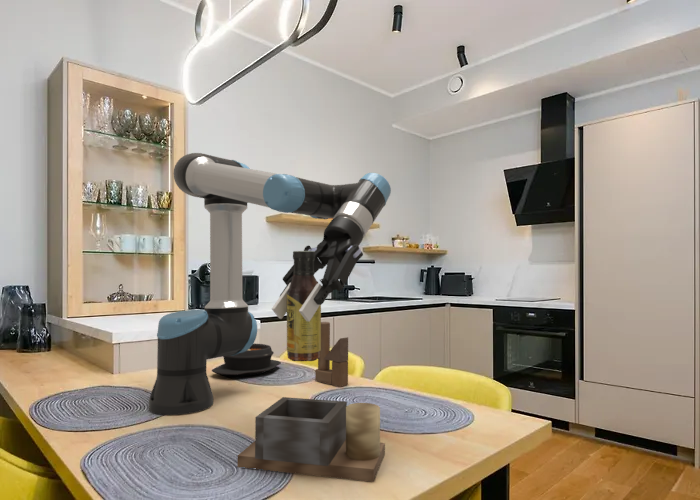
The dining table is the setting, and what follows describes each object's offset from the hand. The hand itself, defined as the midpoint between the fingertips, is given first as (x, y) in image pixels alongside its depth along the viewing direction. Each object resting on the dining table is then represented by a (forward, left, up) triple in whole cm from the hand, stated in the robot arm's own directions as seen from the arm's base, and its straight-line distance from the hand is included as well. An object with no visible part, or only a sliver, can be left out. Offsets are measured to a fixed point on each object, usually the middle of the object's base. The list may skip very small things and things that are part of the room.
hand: (290, 314), depth 84 cm
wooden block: (-8, +59, -26) cm, 65 cm away
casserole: (-39, +67, -27) cm, 82 cm away
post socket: (+4, +3, -26) cm, 27 cm away
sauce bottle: (+2, +3, -9) cm, 9 cm away
